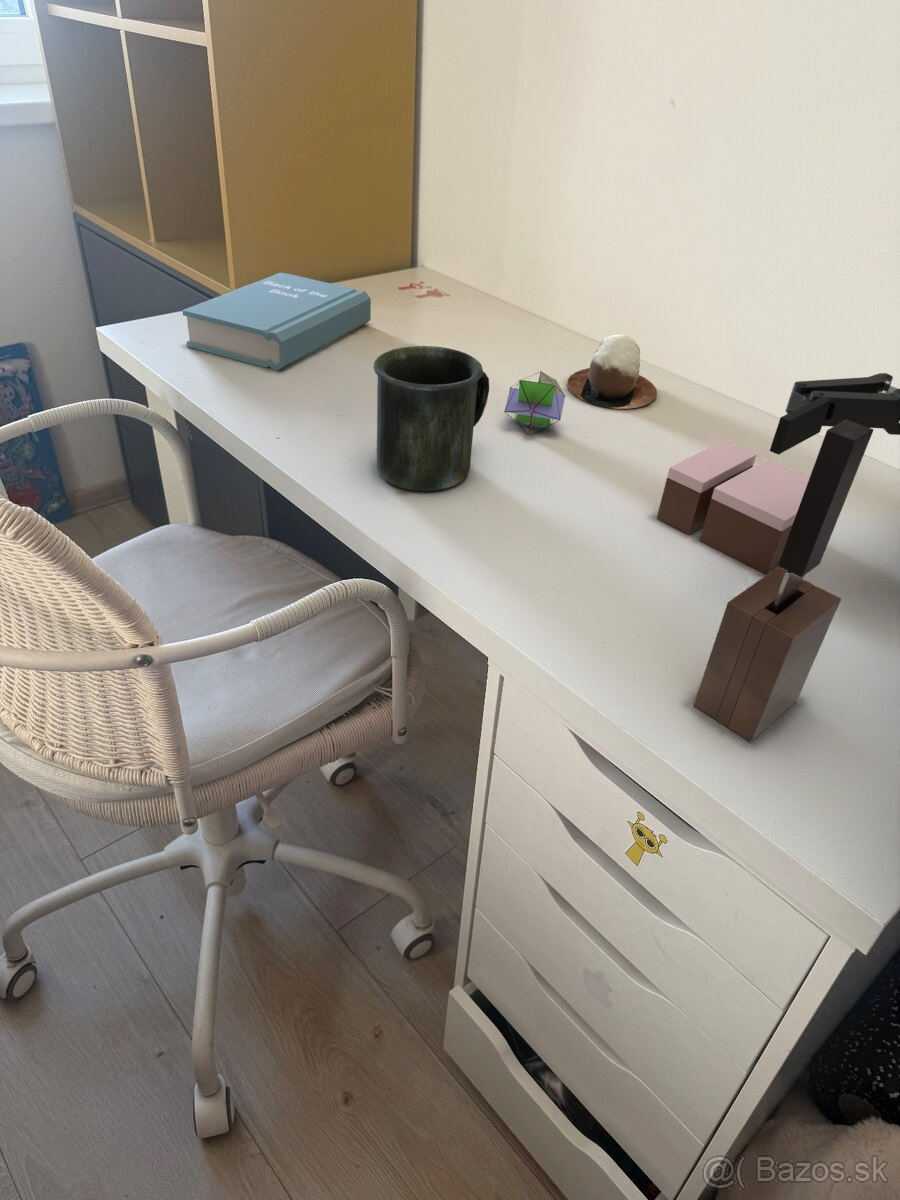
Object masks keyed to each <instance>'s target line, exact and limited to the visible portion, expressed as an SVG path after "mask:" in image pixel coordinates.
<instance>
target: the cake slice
mask: <svg viewBox="0 0 900 1200" xmlns="http://www.w3.org/2000/svg"><path fill="white" fill-rule="evenodd" d="M756 457H757V454H756V453H754V452H752V451H749V450H747V449H745V448H742V447H740V446H737V445H735V444H733V443H730V442H727V441H726V440H722V441H720V442H718V443H716V444H714V445H712V446H709V447H707V448H706V449H703V450H701V451H699V452H697V453H695V454H693V455H691V456H689V457H687V458H685V459H683V460H681V461H678V462H677V463H675V464H673V465H670V466H669V468H668V471H667V476H666V477H667V478H666V481H665V484H664V488H663V491H662V495H661V499H660V504H659V507H658V512H657V515H656V519H657V520H659V521H661V522H662V523H664V524H667V525H668V526H670V527H673V528H674V529H676V530H678V531H680V532H682V533H684V534H686V535H688V536H689V535H691V534H693V533H695V532H697V531H698V530H700V529H702V528H703V526H704V523H705V519H706V516H707V512H708V509H709V505H710V502H711V499H712V495H713V492H714V488H715V487H717V486H719V485H721V484H723V483H725V482H726V481H728V480H730V479H732V478H734V477H736V476H737V475H739V474H741V473H743V472H745V471H746V470H748V469H750V468H752V467H754V464H755V461H756Z"/></svg>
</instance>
